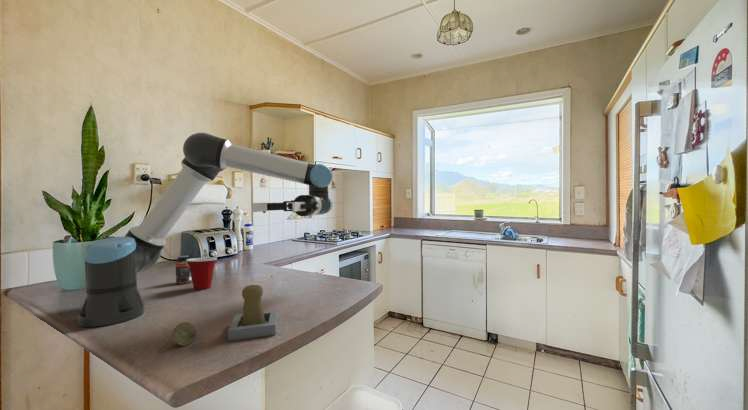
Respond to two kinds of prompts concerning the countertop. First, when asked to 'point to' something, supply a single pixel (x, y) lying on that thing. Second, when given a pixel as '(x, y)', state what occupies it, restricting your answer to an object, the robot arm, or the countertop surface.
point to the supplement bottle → (183, 271)
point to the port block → (253, 327)
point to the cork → (252, 306)
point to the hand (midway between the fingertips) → (272, 207)
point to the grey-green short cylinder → (183, 333)
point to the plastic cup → (201, 272)
